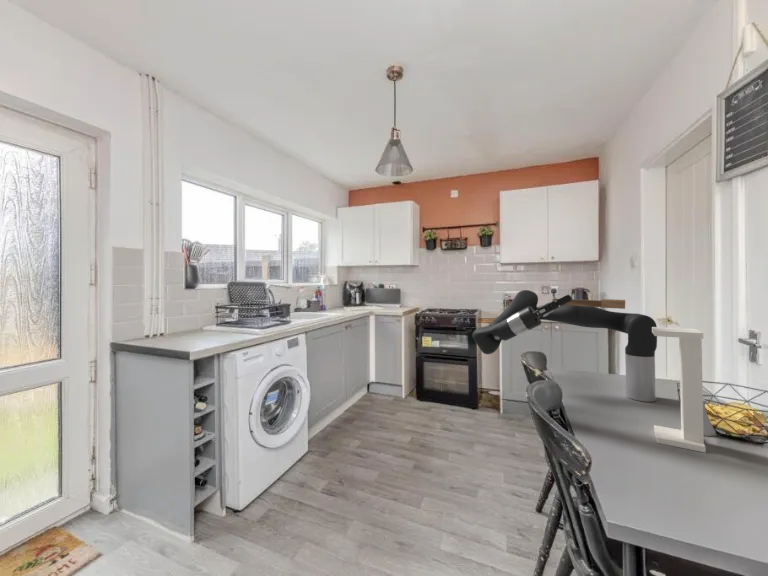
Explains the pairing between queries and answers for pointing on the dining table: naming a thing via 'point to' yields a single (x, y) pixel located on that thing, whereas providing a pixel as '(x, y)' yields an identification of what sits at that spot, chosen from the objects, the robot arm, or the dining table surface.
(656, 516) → the dining table surface
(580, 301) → the tan angular block
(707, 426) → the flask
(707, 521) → the dining table surface
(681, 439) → the white pedestal stand
